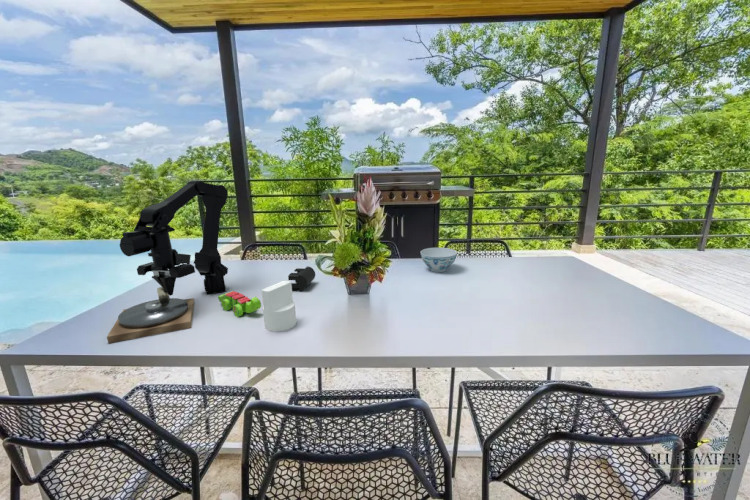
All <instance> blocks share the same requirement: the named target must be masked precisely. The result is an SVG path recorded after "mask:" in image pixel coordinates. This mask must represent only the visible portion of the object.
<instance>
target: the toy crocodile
mask: <svg viewBox="0 0 750 500" xmlns="http://www.w3.org/2000/svg"><path fill="white" fill-rule="evenodd" d="M217 299H218V301H219V302H220V304H221V307H222V308H223V310H224V311H229V310H232V312H233V314H234V316H235V317H237V318H239V317H242V316H243V314H244V313H247V314H250V313H253V312H255V311H257V310H259V309H260V308H262V302H261V300H260V298H258V297H257V296H253V297H251V298H249V297H248V296H246V295H244V294H243V293H242V292H241V293H240V292H237V291H234V290H233V291H230V292H226V293H223V294H220V295H218V296H217Z"/></svg>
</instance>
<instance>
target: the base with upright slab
mask: <svg viewBox="0 0 750 500" xmlns="http://www.w3.org/2000/svg"><path fill="white" fill-rule="evenodd" d="M291 283H292V281H291V280H282V281H280V282H278V283H275V284H272V285H270V286H267V287H264V288H262V289H261V290H260V291H261V299H262V315H263V323H264V329H265V330H266V331H268V332H275V333H278V332H284V331H288V330H291V329H292V328H294V327H296V325H297V315H296V303H295V302H294V297H293V291H292V285H291Z"/></svg>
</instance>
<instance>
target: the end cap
mask: <svg viewBox="0 0 750 500" xmlns="http://www.w3.org/2000/svg"><path fill="white" fill-rule="evenodd" d="M287 278H288V280H287V281H294V282H291V285H292V292H302V291H304V290H305V289H307V288H306V287H308V286H309V285H310V284H311V283H312V282H313V280H315V278H316V271H315V270H314V268H313V267H311V266H306V267H305V268H298V267H297V268H295V269H294V272H290V273H289V274H288V275H287Z"/></svg>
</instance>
